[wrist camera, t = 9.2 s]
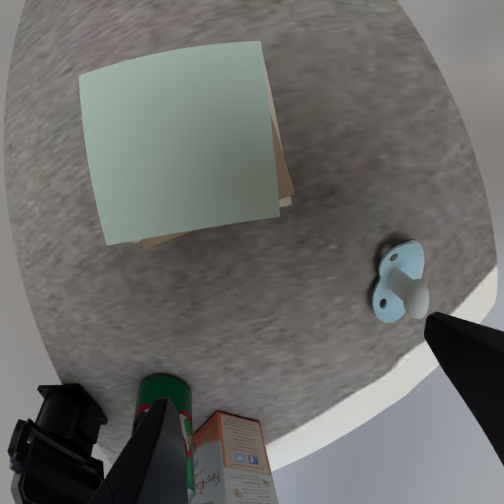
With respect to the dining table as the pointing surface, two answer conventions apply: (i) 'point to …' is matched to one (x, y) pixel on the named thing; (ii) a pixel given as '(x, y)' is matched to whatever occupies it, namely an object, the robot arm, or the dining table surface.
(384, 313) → the pacifier
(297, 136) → the dining table surface
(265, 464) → the cracker box
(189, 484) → the soda can
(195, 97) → the sage block
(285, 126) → the dining table surface
